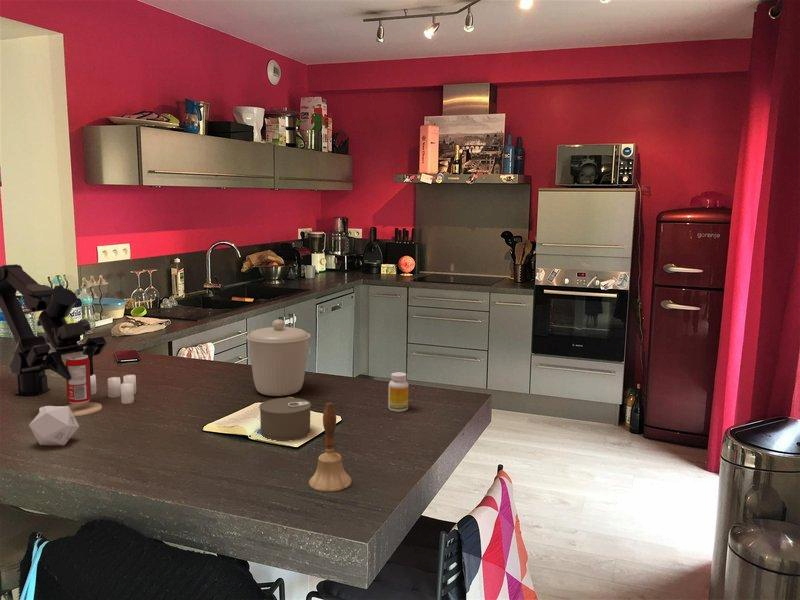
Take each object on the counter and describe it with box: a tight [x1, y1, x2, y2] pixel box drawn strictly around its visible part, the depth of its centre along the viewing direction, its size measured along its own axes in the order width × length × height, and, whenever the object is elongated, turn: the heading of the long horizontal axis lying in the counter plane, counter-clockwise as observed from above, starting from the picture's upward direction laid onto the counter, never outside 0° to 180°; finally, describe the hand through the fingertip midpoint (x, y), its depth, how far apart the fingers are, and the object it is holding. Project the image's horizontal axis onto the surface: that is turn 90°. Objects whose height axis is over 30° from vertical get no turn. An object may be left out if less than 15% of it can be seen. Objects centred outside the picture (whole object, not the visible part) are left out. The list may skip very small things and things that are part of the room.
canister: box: [245, 319, 311, 397], centre depth 187 cm, size 18×18×21 cm
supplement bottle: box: [387, 371, 410, 413], centre depth 174 cm, size 5×5×10 cm
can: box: [258, 397, 312, 442], centre depth 154 cm, size 12×12×7 cm
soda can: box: [65, 353, 92, 404], centre depth 168 cm, size 6×6×12 cm
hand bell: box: [308, 401, 352, 492], centre depth 126 cm, size 8×8×16 cm
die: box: [28, 405, 80, 446], centre depth 145 cm, size 8×9×10 cm
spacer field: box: [38, 374, 137, 414], centre depth 169 cm, size 17×33×5 cm, turn 177°
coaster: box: [65, 401, 103, 417], centre depth 169 cm, size 10×10×1 cm
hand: (81, 377), depth 167 cm, fingers closed on soda can, 5 cm apart
